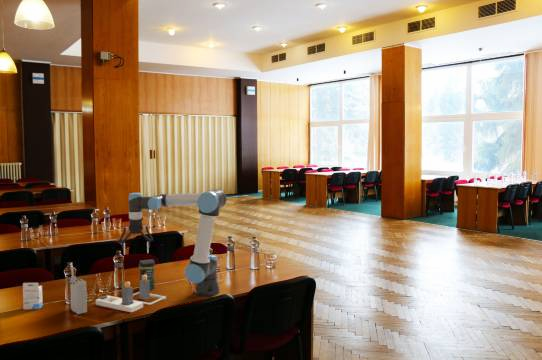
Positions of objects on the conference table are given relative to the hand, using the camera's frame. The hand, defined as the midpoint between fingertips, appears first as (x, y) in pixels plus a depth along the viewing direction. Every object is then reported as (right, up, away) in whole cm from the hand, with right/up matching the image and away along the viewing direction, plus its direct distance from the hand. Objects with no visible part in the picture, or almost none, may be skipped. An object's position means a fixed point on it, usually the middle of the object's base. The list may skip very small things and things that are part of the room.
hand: (136, 253), depth 281 cm
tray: (+8, -25, -12) cm, 29 cm away
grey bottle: (+8, -25, -12) cm, 29 cm away
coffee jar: (+4, -24, +8) cm, 25 cm away
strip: (-2, -26, -25) cm, 36 cm away
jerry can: (-23, -26, -30) cm, 46 cm away
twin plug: (+3, -25, -27) cm, 37 cm away
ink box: (-49, -26, -27) cm, 61 cm away
